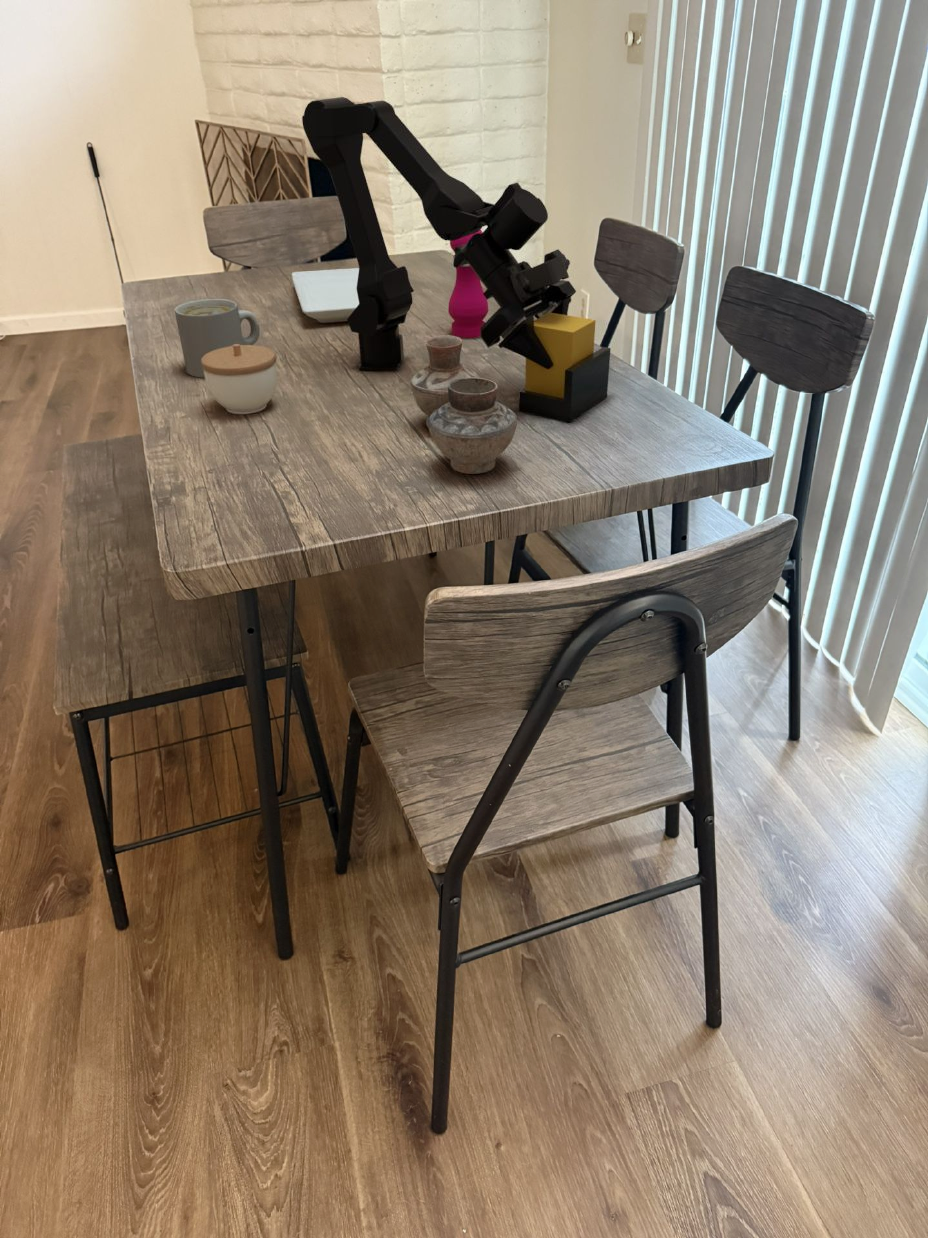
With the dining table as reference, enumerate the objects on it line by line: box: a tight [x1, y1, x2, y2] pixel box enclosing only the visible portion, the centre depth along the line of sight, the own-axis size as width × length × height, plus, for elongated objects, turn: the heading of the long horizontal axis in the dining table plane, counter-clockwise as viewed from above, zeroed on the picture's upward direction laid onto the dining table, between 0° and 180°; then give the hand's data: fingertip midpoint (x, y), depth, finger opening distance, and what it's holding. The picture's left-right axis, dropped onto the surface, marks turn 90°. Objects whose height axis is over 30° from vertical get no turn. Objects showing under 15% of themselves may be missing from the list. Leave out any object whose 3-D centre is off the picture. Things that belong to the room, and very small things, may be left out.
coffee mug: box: [174, 298, 260, 379], centre depth 148 cm, size 13×10×10 cm
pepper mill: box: [447, 228, 489, 339], centre depth 157 cm, size 7×7×20 cm
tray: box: [291, 267, 359, 324], centre depth 179 cm, size 17×32×4 cm, turn 13°
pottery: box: [409, 334, 518, 475], centre depth 118 cm, size 11×25×12 cm, turn 15°
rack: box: [518, 346, 611, 423], centre depth 131 cm, size 8×12×8 cm
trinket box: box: [201, 344, 278, 415], centre depth 132 cm, size 11×11×9 cm
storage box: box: [524, 313, 597, 398], centre depth 130 cm, size 8×7×12 cm
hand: (563, 359), depth 130 cm, fingers open, 7 cm apart
